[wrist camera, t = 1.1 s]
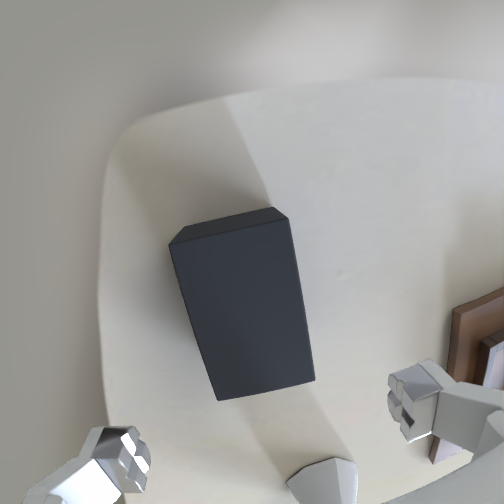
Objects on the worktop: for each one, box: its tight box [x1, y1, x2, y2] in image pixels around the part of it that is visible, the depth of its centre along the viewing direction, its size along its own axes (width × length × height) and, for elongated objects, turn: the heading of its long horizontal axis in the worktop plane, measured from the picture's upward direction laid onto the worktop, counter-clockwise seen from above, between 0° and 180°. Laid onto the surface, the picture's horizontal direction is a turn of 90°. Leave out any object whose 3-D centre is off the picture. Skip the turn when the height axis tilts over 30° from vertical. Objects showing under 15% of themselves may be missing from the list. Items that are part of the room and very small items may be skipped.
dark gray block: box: [169, 207, 315, 401], centre depth 18 cm, size 9×6×5 cm, turn 12°
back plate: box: [429, 288, 504, 465], centre depth 23 cm, size 20×15×3 cm
